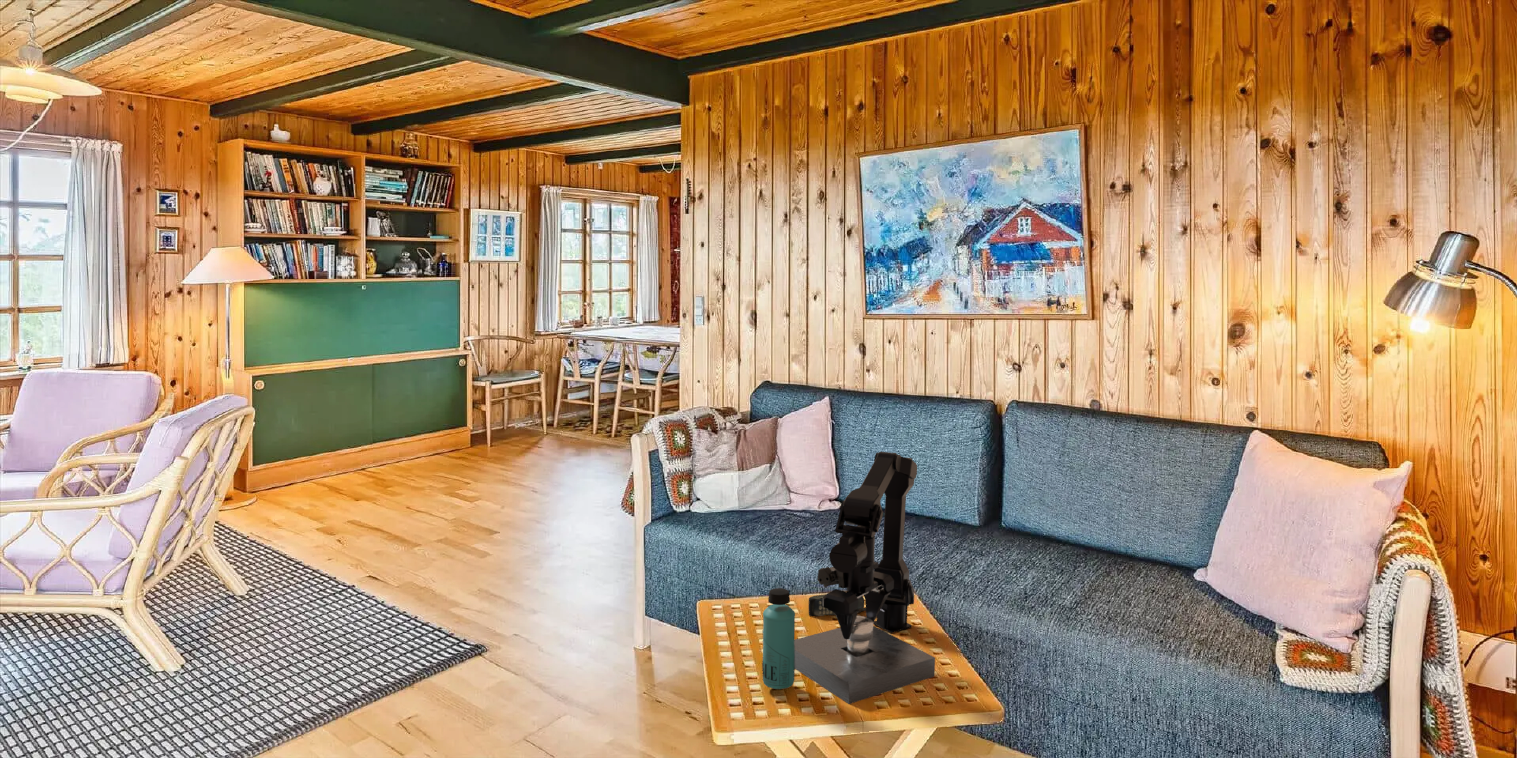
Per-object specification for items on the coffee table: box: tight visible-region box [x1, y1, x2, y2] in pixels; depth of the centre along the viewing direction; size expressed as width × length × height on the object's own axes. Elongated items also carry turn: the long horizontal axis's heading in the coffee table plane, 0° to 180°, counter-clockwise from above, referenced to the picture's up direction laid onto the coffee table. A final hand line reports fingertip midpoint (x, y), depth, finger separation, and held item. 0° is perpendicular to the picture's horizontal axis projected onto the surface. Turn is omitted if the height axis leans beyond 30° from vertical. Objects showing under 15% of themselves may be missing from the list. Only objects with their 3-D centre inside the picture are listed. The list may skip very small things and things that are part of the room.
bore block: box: [794, 625, 936, 705], centre depth 180 cm, size 22×22×4 cm
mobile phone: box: [808, 593, 866, 617], centre depth 210 cm, size 5×3×15 cm
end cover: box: [847, 615, 874, 657], centre depth 180 cm, size 6×6×7 cm
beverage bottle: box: [761, 587, 796, 690], centre depth 170 cm, size 6×7×20 cm
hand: (858, 631), depth 180 cm, fingers open, 9 cm apart
